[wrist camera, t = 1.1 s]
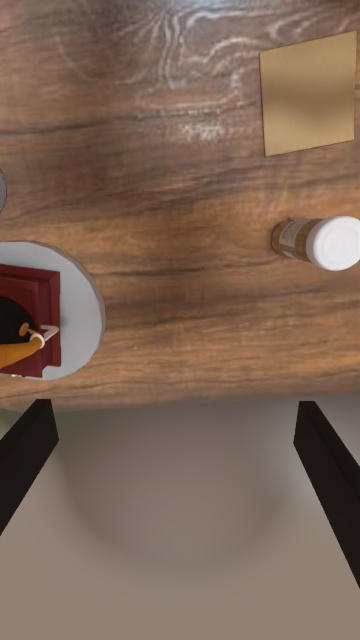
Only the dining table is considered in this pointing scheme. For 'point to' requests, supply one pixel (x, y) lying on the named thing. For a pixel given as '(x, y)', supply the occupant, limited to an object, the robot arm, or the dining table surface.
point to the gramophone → (46, 312)
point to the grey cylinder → (2, 191)
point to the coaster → (308, 94)
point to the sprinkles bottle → (320, 241)
